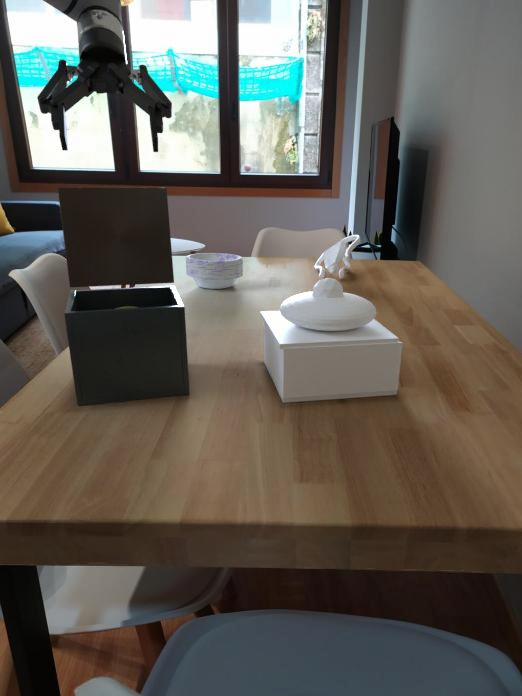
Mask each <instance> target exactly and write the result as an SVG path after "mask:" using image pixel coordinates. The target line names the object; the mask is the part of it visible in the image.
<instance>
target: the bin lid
mask: <svg viewBox="0 0 522 696" xmlns="http://www.w3.org/2000/svg"><path fill="white" fill-rule="evenodd" d="M57 193H58V201H59V210H60V219H61V226H62V234H63V242H64V243H63V244H64V251H65V252H64V253H65V258H66V266H67V274H68V275H67V277H68V284H69V287H70V288H91V287H110V286H111V287H113V286H132V285H133V286H135V285H156V284H174V283H175V276H174V263H173V250H172V239H171V225H170V213H169V200H168V188H167V187H114V186H113V187H111V186H110V187H106V186H105V187H103V186H102V187H100V186H99V187H97V186H95V187H88V186H87V187H85V186H82V187H81V186H80V187H79V186H77V187H75V186H72V187H71V186H67V187H65V186H63V187H62V186H59V187H57Z"/></svg>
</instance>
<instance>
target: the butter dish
mask: <svg viewBox="0 0 522 696" xmlns="http://www.w3.org/2000/svg"><path fill="white" fill-rule="evenodd" d="M259 315H260V318H261V319H262V321H263V363H264V365H265V367H266V370H267V372H268V374H269V376H270V378H271V380H272V382H273V384H274V386H275V389H276V391H277V393H278V395H279V397H280V399H281V402H282V404H283V403H284V404H285V403H286V404H287V403H298V402H299V403H300V402H313V401H328V400H341V399H342V400H343V399H356V398H357V399H358V398H369V397H370V398H371V397H383V396H386V397H387V396H397V395H398V390H399V382H400V371H401V363H402V362H401V361H402V353H403V342H402V341H400V339H399V337H398V336H397V335H396V334H394V333H393V332H392V331H390V330H388V328H387V327H385V326H384V325H382V323H380V322H379V321H378V320H377V319H375V318H376V316H377V309H376V306H375V305H374V303H372V302H371V301H370V300H368V299H366V298H364V297H362V296H360V295H358V294H354V293H351V292H350V293H349V292H344V288H343V285H342V284H341V283H340V282H339V280H337V279H336V278H332V277H325V278H323V279H322V278H321V279H318V281H317V282H316V283H315V284H314V285H313V288H312V291H306V292H301V293H298V294H294V295H292V296H290V297H288V298H286V299H285V300H283V302H281V304H280V307H279V310H262V311H259Z"/></svg>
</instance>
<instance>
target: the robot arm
mask: <svg viewBox="0 0 522 696" xmlns="http://www.w3.org/2000/svg"><path fill="white" fill-rule="evenodd" d="M42 1H43V2H45V3H46V4H47V5H50V6H51V7H53V8H54V9H56V10H57V11H59V12H60V13H62V14H63V15H65V16H66V17H68V18H69V19H70V20H73V21H74V22H76V29H77V42H78V58H79V60H78V61H79V62H78V64H77V65H69V64H68V62H67V60H66V59H60V60H59V61H58V65H57V69H56V70H55V72H54V73H53V75H52V76H51V78H50V79H49V80H48V82H47V83H46V84H45V86H44V87H43V88H42V90H41V91H40V93H39V94H38V95H37V103H38V106H39V110H40V113H41V114H43V115H47V114H50V120H51V125H52V129H53V130H54V131H58V134H59V137H58V138H59V140H60V146H61V150H62V151H68V150H69V148H68V128H67V127H68V126H67V116H66V113H67V111H69V110H70V109H72V108H73V107H74V106H75V105H76V104H78V103H79V102H80V101H82V100H83V99H84V98H88V97H90V96H91V95H92V94H94V92H95V93H96V94H110V95H117V94H119V95H120V96H121V97H122V98H124V99H126V100H129V101H130V102H132V103H133V104H134V105H136V106H137V107H138V108H139V109H141V110H142V111H143V112H144V113H146V114H147V115H148V116H149V128H150V135H151V143H152V151H153V153H159V135H158V134H163V132H164V119H163V118H166V119H171V118H172V116H173V103H172V101H171V100H170V99H169V98H168V96H167V95H166V93H165V92H164V91H163V90H162V89H161V87H160V86H159V85H158V84H157V83H156V81H155V80H154V79H153V77H151V75H150V74H149V70H148V68H147V65H145V64H140V65H139V66H138V69H131V68H130V67H129V66H128V60H127V52H126V51H127V50H126V43H125V34H124V24H123V16H122V15H123V14H122V11H123V8H122V1H121V0H42ZM74 77H76V79H75V80H74V81H73V79H74ZM133 80H135V82H136V83H137V84H136V83H134V82H133ZM69 83H70V84H69ZM140 86H141V88H140Z"/></svg>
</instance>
